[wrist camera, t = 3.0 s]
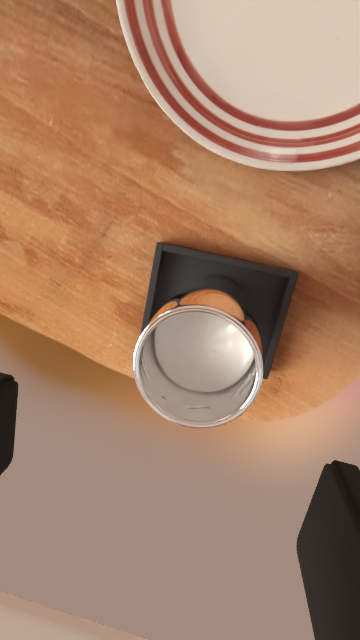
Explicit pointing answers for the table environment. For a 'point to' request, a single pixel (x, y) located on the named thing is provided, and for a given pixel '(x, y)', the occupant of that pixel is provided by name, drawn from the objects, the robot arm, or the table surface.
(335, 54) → the dinner plate
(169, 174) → the table surface
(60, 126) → the table surface
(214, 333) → the beer glass
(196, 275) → the tray
